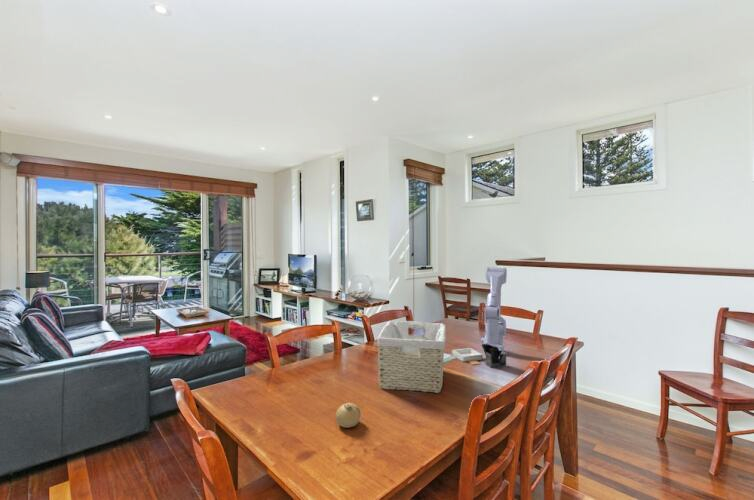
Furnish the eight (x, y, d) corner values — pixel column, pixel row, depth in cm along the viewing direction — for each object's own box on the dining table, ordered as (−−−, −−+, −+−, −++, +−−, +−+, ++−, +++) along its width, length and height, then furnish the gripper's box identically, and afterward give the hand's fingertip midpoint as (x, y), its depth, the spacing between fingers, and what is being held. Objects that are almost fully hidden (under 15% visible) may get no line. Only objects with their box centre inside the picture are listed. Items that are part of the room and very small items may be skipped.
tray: (452, 354, 178) (452, 349, 178) (470, 352, 181) (470, 347, 181) (463, 361, 168) (463, 356, 168) (482, 359, 171) (482, 354, 171)
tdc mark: (468, 361, 168) (468, 361, 168) (475, 361, 169) (475, 360, 169) (473, 364, 164) (473, 364, 164) (480, 363, 165) (480, 363, 165)
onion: (330, 424, 112) (330, 402, 112) (349, 415, 118) (349, 394, 118) (346, 434, 107) (346, 411, 106) (365, 424, 112) (365, 402, 112)
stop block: (485, 364, 164) (485, 352, 164) (493, 363, 165) (493, 351, 165) (491, 367, 160) (491, 354, 160) (498, 366, 162) (498, 353, 161)
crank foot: (483, 359, 171) (483, 357, 171) (491, 358, 172) (492, 356, 172) (489, 363, 166) (489, 361, 166) (498, 362, 168) (498, 359, 167)
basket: (445, 397, 131) (445, 339, 131) (375, 390, 137) (375, 335, 136) (446, 370, 158) (446, 322, 157) (387, 365, 163) (387, 319, 162)
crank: (485, 357, 170) (485, 347, 170) (491, 356, 171) (491, 347, 171) (501, 366, 159) (501, 355, 159) (507, 365, 160) (507, 355, 160)
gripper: (475, 329, 168) (475, 357, 168) (494, 337, 154) (494, 367, 155) (488, 328, 170) (488, 355, 171) (508, 336, 156) (507, 366, 157)
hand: (491, 361), depth 163 cm, fingers open, 4 cm apart
